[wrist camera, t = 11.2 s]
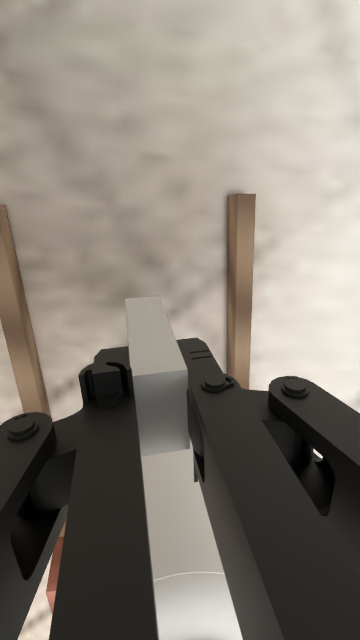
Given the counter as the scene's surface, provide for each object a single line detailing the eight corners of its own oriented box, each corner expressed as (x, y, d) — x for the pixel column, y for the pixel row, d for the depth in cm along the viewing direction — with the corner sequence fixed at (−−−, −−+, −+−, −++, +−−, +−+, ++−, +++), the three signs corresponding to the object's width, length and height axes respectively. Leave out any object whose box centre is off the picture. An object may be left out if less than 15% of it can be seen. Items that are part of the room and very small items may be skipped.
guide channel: (-16, 206, 17) (-65, 209, 12) (245, 194, 19) (287, 192, 15) (62, 537, 25) (51, 613, 21) (237, 502, 28) (262, 563, 23)
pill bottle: (69, 455, 23) (4, 844, 9) (159, 385, 22) (234, 686, 9) (142, 511, 26) (176, 866, 12) (223, 450, 25) (355, 751, 12)
